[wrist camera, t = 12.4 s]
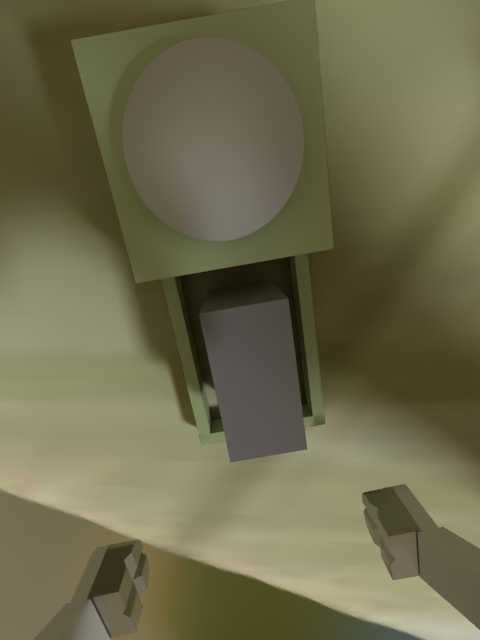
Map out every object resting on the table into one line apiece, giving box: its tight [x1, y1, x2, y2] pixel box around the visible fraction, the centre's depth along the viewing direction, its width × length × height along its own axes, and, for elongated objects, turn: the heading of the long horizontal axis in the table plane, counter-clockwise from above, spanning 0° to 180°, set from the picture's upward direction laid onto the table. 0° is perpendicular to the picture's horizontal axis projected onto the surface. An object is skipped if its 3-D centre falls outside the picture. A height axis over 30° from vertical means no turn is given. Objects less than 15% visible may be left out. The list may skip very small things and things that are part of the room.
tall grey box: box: [199, 281, 307, 462], centre depth 21 cm, size 5×10×8 cm, turn 9°
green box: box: [71, 0, 334, 445], centre depth 19 cm, size 12×27×7 cm, turn 10°
